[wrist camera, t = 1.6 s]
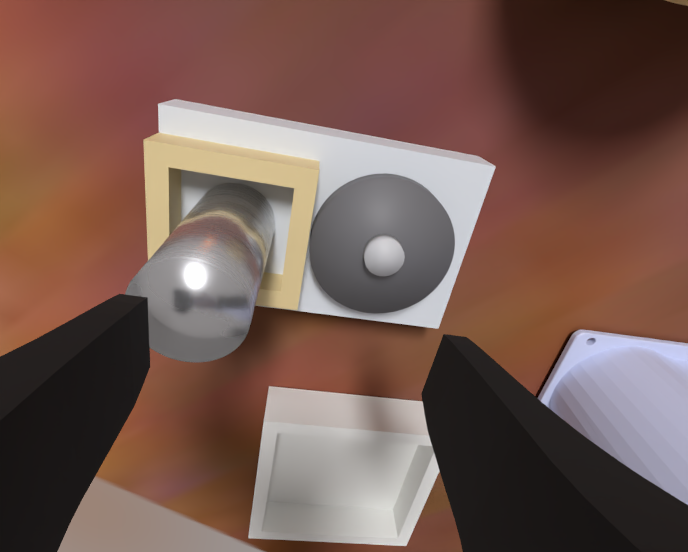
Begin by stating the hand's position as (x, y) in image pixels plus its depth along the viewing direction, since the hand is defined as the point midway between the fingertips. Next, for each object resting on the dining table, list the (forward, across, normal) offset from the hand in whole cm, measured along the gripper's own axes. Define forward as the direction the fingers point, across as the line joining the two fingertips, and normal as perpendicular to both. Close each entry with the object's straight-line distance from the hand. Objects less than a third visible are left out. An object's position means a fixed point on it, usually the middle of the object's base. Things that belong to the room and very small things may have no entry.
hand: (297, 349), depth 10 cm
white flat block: (+10, -1, 0) cm, 10 cm away
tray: (+10, -5, +16) cm, 20 cm away
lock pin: (+8, +3, 0) cm, 9 cm away
